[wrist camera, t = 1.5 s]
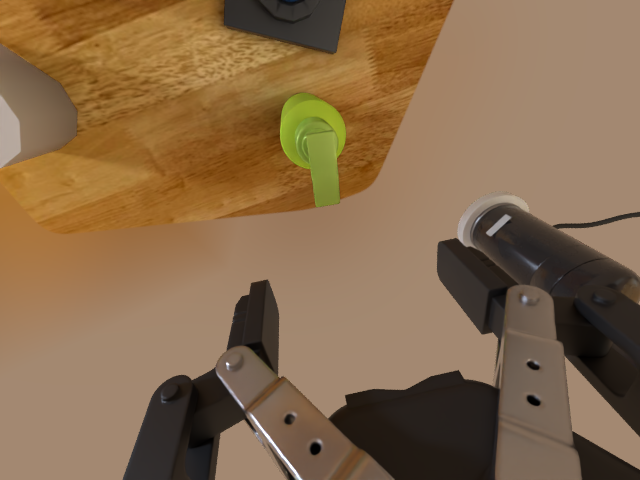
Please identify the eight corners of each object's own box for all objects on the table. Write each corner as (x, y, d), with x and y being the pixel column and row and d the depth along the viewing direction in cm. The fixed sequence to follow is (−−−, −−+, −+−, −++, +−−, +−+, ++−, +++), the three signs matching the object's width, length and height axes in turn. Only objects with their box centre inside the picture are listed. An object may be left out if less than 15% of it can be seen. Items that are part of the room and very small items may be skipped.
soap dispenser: (287, 153, 39) (290, 214, 22) (277, 96, 35) (270, 114, 18) (330, 146, 39) (367, 202, 22) (324, 89, 36) (363, 100, 18)
